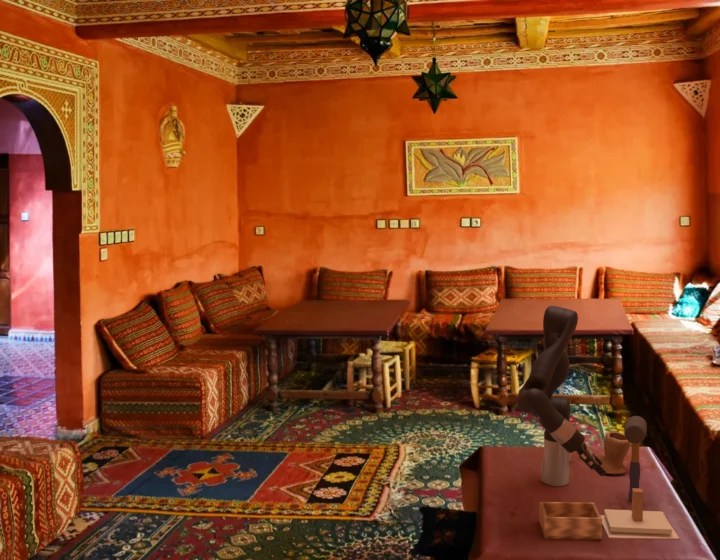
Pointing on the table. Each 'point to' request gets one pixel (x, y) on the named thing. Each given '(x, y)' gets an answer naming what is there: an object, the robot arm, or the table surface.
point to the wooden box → (570, 520)
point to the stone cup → (614, 452)
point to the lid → (637, 518)
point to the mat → (636, 535)
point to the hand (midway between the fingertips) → (602, 469)
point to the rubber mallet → (635, 448)
